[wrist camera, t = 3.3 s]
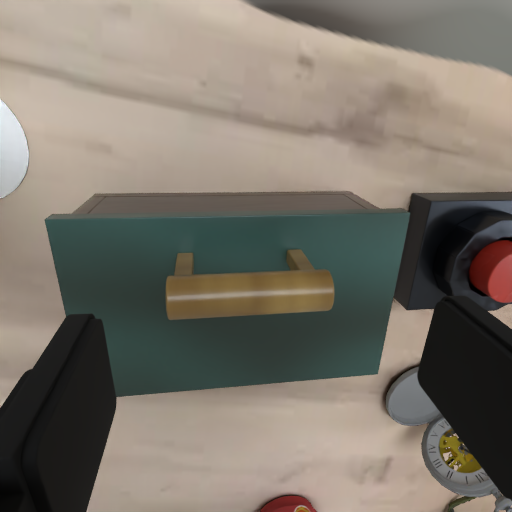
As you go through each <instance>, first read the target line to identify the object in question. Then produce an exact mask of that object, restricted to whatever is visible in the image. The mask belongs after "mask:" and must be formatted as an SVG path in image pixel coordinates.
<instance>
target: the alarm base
mask: <svg viewBox="0 0 512 512" xmlns="http://www.w3.org/2000/svg"><path fill="white" fill-rule="evenodd" d="M409 212H410V218H409V223H408V228H407V233H406V238H405V242H404V247H403V252H402V257H401V262H400V267H399V272H398V277H397V282H396V287H395V292H394V296H393V297H394V298H395V299H396V300H397V301H398V302H399V303H400V304H401V305H402V306H403V307H404V308H405V309H406V310H419V309H435V306H436V304H437V303H438V302H440V300H441V299H442V298H443V297H445V296H462V295H463V296H467V297H469V298H470V299H472V300H473V301H474V302H476V303H477V304H478V305H480V306H481V307H482V308H484V309H485V310H486V311H492V310H498V309H499V308H501V307H503V306H505V305H507V304H512V302H509V303H502V302H497V301H495V300H493V299H492V298H490V297H489V296H487V295H486V294H484V293H483V292H481V291H480V290H478V289H477V288H476V287H474V286H473V285H472V283H471V281H470V279H469V269H470V265H471V262H472V260H473V259H474V258H475V257H476V256H477V255H478V253H479V252H480V251H481V250H482V249H483V248H484V247H485V246H487V245H488V244H490V243H493V242H495V241H500V240H507V241H511V242H512V192H484V193H413V194H412V198H411V203H410V208H409Z"/></svg>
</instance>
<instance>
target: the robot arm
mask: <svg viewBox="0 0 512 512" xmlns="http://www.w3.org/2000/svg"><path fill="white" fill-rule="evenodd" d="M417 378H418V382H419V385H420V386H421V388H422V389H423V390H424V392H425V393H426V394H427V396H428V397H429V398H430V400H431V401H432V402H433V404H434V405H435V406H436V408H437V409H438V410H439V411H440V413H441V414H442V415H443V417H444V418H445V419H446V421H447V422H448V423H449V425H450V426H451V427H452V429H453V430H454V431H455V433H456V434H457V435H458V437H459V438H460V439H461V441H462V442H463V443H464V445H465V446H466V447H467V449H468V450H469V451H470V453H471V454H472V455H473V457H474V458H475V459H476V460H477V462H478V463H479V464H480V466H481V467H482V468H483V470H484V471H485V472H486V474H487V475H488V476H489V478H490V479H491V480H492V482H493V483H494V484H495V486H496V487H497V488H498V490H499V491H500V492H501V493H502V494H503V496H505V497H506V498H507V499H510V500H511V501H512V329H510V328H509V327H508V326H506V325H505V324H504V323H502V322H501V321H500V320H498V319H497V318H496V317H494V316H493V315H492V314H490V313H489V312H488V311H486V310H485V309H484V308H482V307H481V306H480V305H478V304H477V303H476V302H474V301H473V300H472V299H470V298H469V297H467V296H463V295H462V296H445V297H443V298H442V299H441V300H440V302H438V303H437V304H436V306H435V309H434V313H433V317H432V320H431V324H430V328H429V332H428V335H427V339H426V343H425V346H424V350H423V354H422V358H421V361H420V365H419V369H418V373H417ZM115 410H116V393H115V387H114V382H113V376H112V371H111V365H110V359H109V354H108V348H107V343H106V337H105V331H104V326H103V321H102V319H95V316H94V314H92V313H90V314H70V315H68V316H67V317H66V318H65V319H64V321H63V323H62V324H61V326H60V327H59V329H58V330H57V332H56V333H55V335H54V336H53V338H52V340H51V341H50V343H49V344H48V346H47V347H46V349H45V350H44V352H43V353H42V355H41V357H40V358H39V360H38V361H37V363H36V364H35V366H34V367H33V369H31V370H28V371H26V372H25V373H24V374H23V376H22V377H21V378H20V380H19V381H18V383H17V384H16V386H15V387H14V389H13V390H12V392H11V393H10V395H9V396H8V398H7V399H6V401H5V402H4V404H3V405H2V407H1V408H0V512H86V511H87V507H88V504H89V500H90V497H91V493H92V490H93V487H94V483H95V480H96V476H97V473H98V469H99V466H100V462H101V459H102V456H103V452H104V449H105V445H106V442H107V438H108V435H109V431H110V428H111V425H112V421H113V418H114V414H115Z"/></svg>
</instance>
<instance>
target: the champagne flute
mask: <svg viewBox="0 0 512 512" xmlns="http://www.w3.org/2000/svg"><path fill="white" fill-rule="evenodd" d="M28 159H29V151H28V145H27V140H26V137H25V134H24V132H23V129H22V127H21V125H20V123H19V122H18V120H17V118H16V117H15V115H14V114H13V113H12V111H11V110H10V109H9V108H8V107H7V105H6V104H5V103H4V102H3V101H2V100H0V198H3V197H5V196H7V195H8V194H10V193H11V192H13V191H14V190H15V189H16V188H17V187H18V186H19V185H20V183H21V182H22V180H23V178H24V176H25V174H26V171H27V167H28Z"/></svg>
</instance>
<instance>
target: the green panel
mask: <svg viewBox="0 0 512 512" xmlns="http://www.w3.org/2000/svg"><path fill="white" fill-rule="evenodd" d="M409 218H410V212H408V211H406V210H404V209H402V208H397V209H336V210H276V211H215V212H154V213H93V214H52V215H50V216H49V217H48V218H46V219H45V223H46V228H47V232H48V237H49V241H50V246H51V250H52V255H53V259H54V264H55V269H56V273H57V278H58V282H59V287H60V291H61V296H62V300H63V305H64V309H65V314H66V317H67V316H68V315H70V314H90V313H92V314H94V316H95V319H102V321H103V326H104V331H105V337H106V343H107V348H108V354H109V359H110V365H111V371H112V376H113V382H114V387H115V393H116V397H122V396H133V395H145V394H156V393H168V392H179V391H191V390H202V389H213V388H225V387H236V386H248V385H259V384H271V383H282V382H294V381H305V380H316V379H328V378H339V377H351V376H362V375H374V374H378V370H379V365H380V360H381V355H382V350H383V346H384V341H385V336H386V331H387V326H388V321H389V316H390V311H391V306H392V301H393V296H394V292H395V287H396V282H397V277H398V272H399V267H400V262H401V257H402V252H403V247H404V242H405V238H406V233H407V228H408V223H409Z"/></svg>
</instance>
